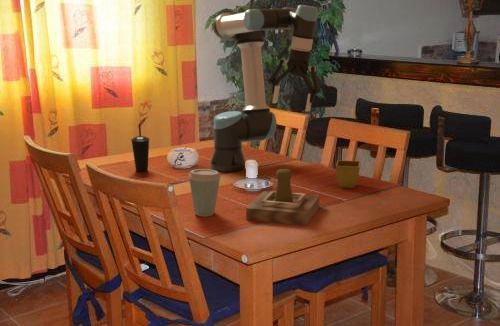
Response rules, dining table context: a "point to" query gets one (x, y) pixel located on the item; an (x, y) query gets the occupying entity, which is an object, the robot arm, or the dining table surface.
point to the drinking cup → (140, 152)
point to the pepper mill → (283, 186)
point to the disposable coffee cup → (204, 190)
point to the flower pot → (347, 173)
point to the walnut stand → (283, 208)
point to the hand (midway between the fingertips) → (291, 107)
